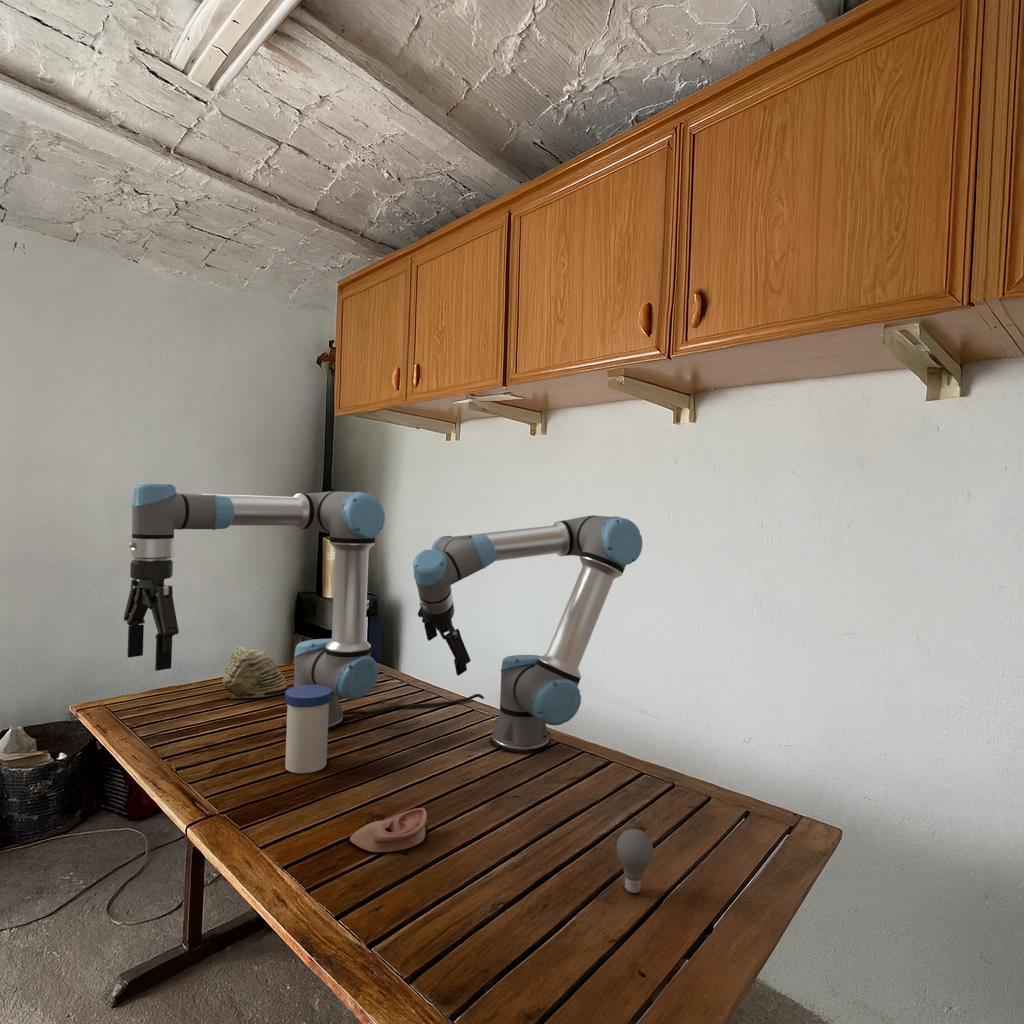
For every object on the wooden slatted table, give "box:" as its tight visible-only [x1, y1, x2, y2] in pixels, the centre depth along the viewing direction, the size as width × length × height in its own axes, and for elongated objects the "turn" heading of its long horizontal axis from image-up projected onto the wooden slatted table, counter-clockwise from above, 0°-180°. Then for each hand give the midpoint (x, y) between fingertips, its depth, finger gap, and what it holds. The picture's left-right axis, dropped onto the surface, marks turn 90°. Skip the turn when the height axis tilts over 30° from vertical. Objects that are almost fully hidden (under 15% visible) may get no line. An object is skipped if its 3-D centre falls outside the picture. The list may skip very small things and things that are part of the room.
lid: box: [284, 685, 332, 707], centre depth 149 cm, size 11×11×2 cm
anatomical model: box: [349, 807, 428, 853], centre depth 119 cm, size 13×4×12 cm
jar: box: [284, 703, 329, 774], centre depth 149 cm, size 9×9×17 cm
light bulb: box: [615, 828, 654, 894], centre depth 106 cm, size 6×6×10 cm
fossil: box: [222, 646, 288, 699], centre depth 198 cm, size 9×18×15 cm, turn 132°
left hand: (148, 662), depth 129 cm, fingers open, 13 cm apart
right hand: (446, 654), depth 164 cm, fingers open, 13 cm apart
